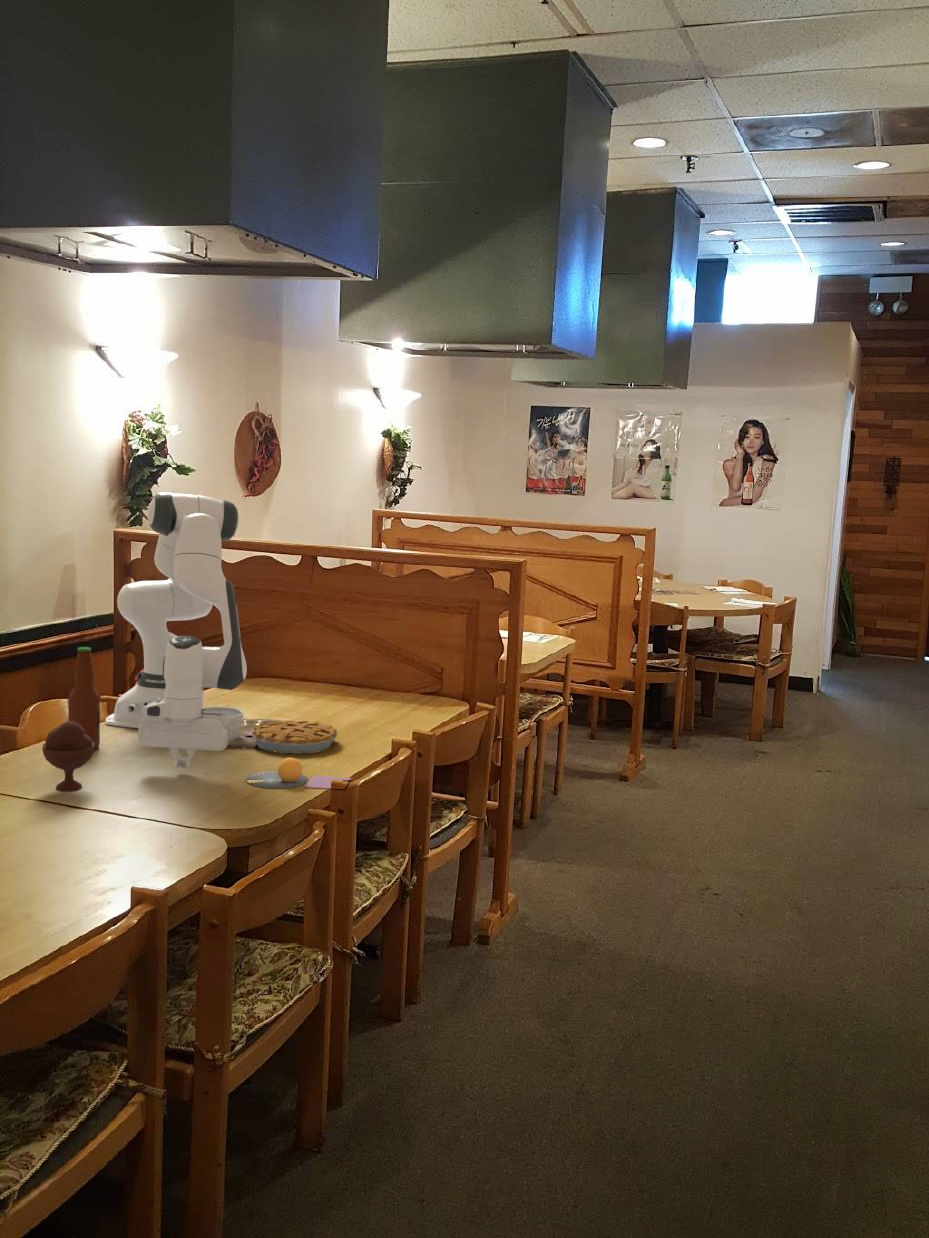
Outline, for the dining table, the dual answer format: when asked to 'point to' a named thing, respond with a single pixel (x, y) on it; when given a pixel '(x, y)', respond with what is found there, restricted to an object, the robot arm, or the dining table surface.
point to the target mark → (275, 780)
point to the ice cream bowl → (68, 752)
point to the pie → (294, 736)
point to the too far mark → (322, 782)
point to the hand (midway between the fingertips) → (182, 766)
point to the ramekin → (231, 720)
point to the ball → (289, 769)
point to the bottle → (85, 698)
